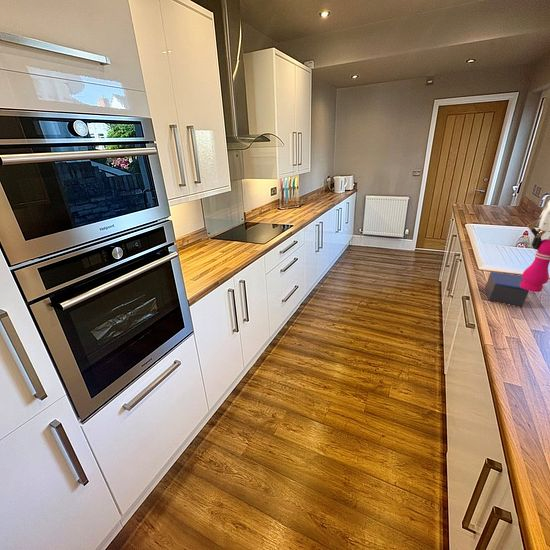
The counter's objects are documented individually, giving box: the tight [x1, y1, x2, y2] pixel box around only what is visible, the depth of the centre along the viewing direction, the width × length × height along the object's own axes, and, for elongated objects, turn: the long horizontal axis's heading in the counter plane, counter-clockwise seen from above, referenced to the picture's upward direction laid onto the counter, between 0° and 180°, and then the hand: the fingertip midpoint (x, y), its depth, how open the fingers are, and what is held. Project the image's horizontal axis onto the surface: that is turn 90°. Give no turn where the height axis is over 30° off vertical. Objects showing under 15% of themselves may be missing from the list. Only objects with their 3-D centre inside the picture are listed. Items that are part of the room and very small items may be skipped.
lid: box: [490, 271, 525, 290], centre depth 125 cm, size 12×14×1 cm
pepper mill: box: [520, 235, 550, 293], centre depth 101 cm, size 7×7×20 cm
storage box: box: [484, 272, 530, 308], centre depth 127 cm, size 12×14×8 cm
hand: (547, 249), depth 99 cm, fingers closed on pepper mill, 6 cm apart
